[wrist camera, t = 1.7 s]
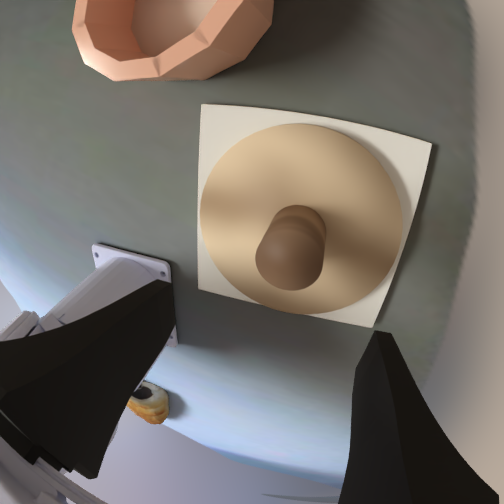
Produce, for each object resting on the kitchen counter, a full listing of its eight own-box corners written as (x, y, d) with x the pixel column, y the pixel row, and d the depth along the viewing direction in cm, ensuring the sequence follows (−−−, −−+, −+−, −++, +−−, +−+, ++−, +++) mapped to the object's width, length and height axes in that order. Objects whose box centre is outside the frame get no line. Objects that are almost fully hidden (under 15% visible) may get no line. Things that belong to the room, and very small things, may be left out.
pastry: (175, 420, 37) (165, 440, 34) (136, 403, 38) (124, 421, 35) (170, 388, 32) (156, 412, 29) (124, 367, 34) (108, 388, 30)
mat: (371, 322, 20) (371, 327, 20) (201, 284, 23) (198, 288, 22) (428, 142, 14) (431, 143, 13) (205, 103, 16) (201, 104, 15)
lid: (368, 321, 19) (369, 367, 16) (204, 285, 22) (178, 323, 18) (421, 149, 13) (448, 166, 10) (208, 113, 16) (171, 119, 12)
